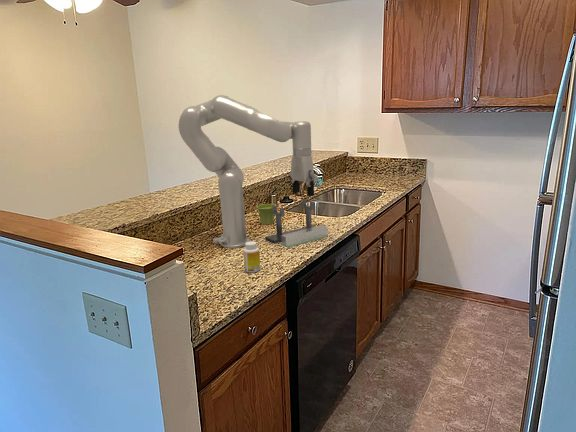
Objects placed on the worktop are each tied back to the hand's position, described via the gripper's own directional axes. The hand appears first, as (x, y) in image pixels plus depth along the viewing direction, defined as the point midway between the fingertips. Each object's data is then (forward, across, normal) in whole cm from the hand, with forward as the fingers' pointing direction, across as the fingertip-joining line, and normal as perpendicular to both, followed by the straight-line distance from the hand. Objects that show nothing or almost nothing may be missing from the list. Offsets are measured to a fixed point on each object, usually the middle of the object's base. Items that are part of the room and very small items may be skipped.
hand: (303, 194), depth 183 cm
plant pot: (+20, -34, +3) cm, 39 cm away
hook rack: (+20, -8, +1) cm, 22 cm away
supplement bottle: (+20, +14, -34) cm, 42 cm away
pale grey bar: (+20, 0, 0) cm, 20 cm away
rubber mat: (+20, 0, 0) cm, 20 cm away
